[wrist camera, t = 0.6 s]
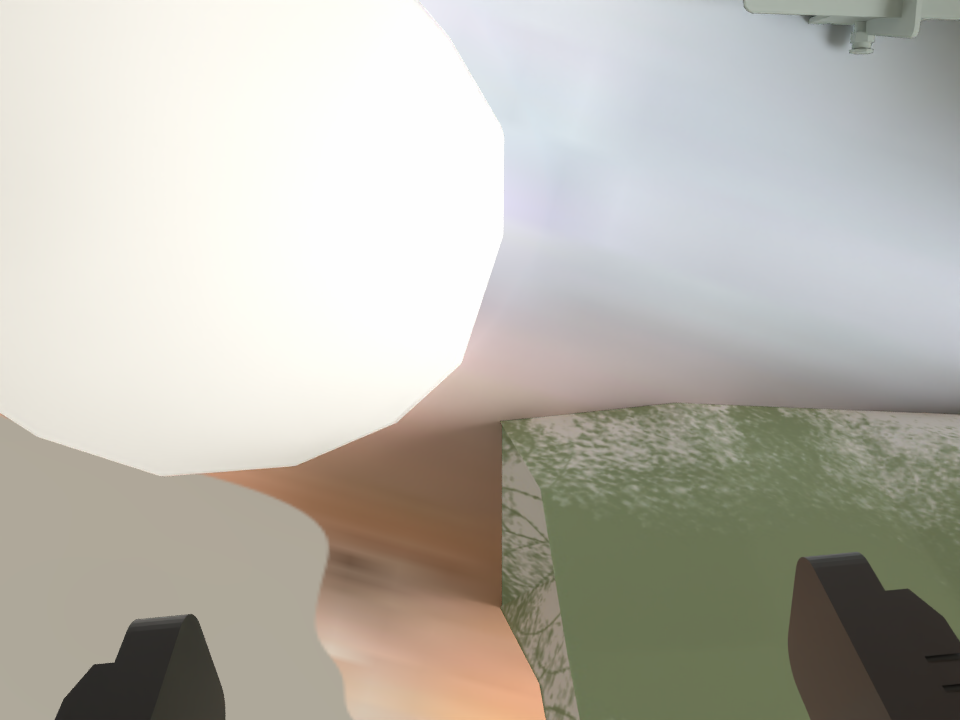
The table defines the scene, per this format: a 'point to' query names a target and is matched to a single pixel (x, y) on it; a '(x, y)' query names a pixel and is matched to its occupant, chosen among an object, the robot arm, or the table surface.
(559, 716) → the grocery bag
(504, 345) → the table surface
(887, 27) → the metal bracket
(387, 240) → the decorative plate
